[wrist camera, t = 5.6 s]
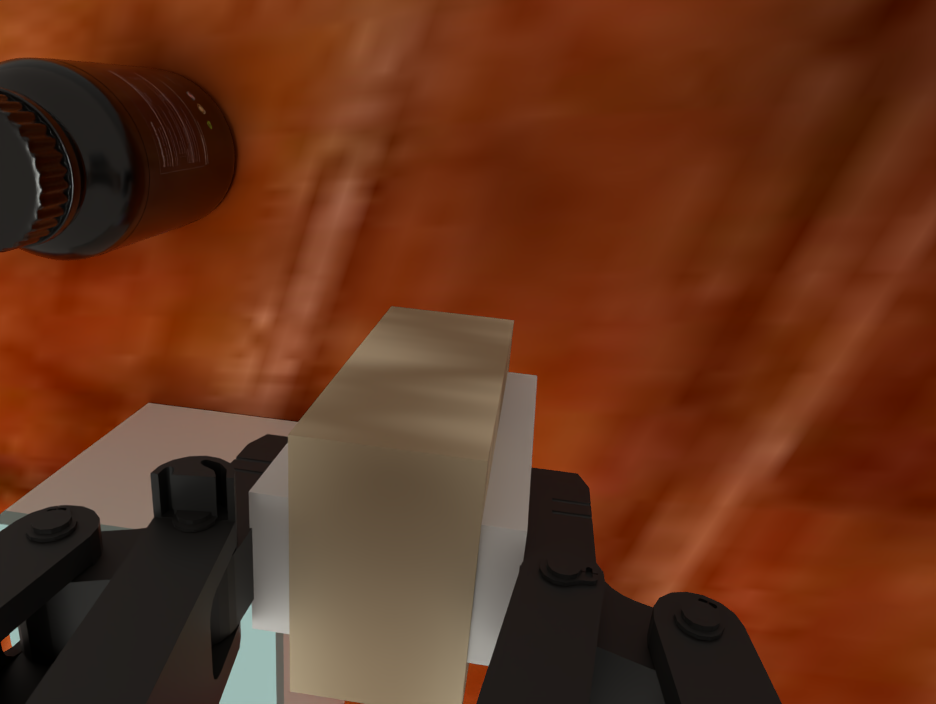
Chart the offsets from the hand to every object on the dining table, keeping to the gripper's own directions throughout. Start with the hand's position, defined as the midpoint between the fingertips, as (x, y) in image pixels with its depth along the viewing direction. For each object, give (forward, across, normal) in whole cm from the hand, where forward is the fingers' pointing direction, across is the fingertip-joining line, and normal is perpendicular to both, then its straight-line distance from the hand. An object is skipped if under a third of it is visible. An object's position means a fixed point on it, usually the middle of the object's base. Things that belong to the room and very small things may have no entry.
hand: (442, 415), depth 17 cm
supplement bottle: (+16, +15, -4) cm, 22 cm away
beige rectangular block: (0, 0, 0) cm, 0 cm away
